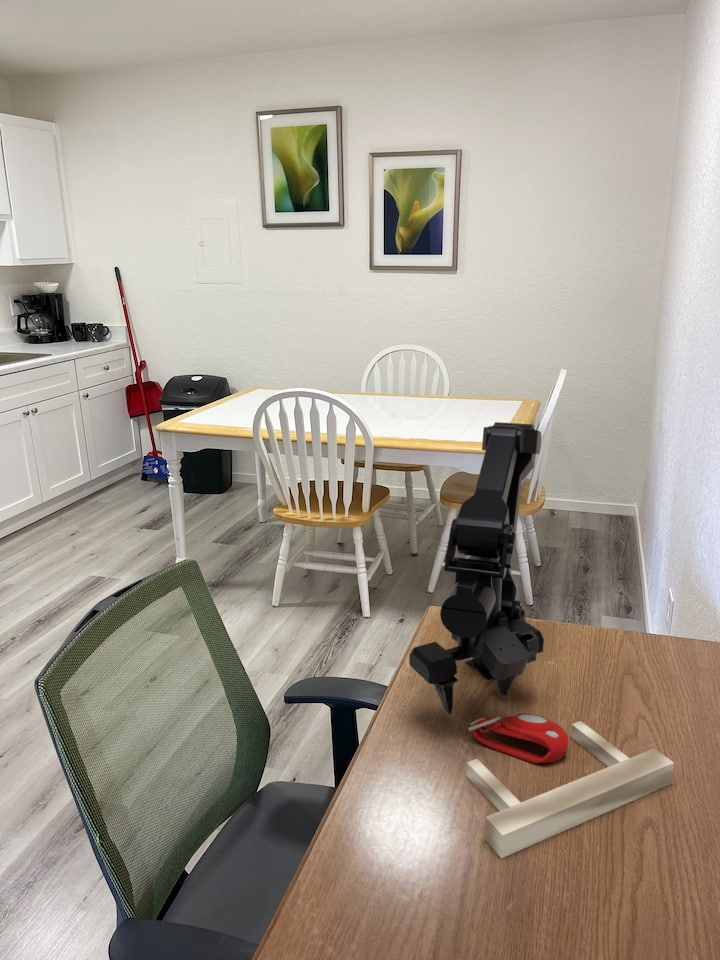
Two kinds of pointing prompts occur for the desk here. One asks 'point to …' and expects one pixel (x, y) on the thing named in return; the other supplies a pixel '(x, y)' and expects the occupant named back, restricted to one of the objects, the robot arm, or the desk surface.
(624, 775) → the frame
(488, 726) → the tracker holder
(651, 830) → the desk surface
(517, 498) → the robot arm
